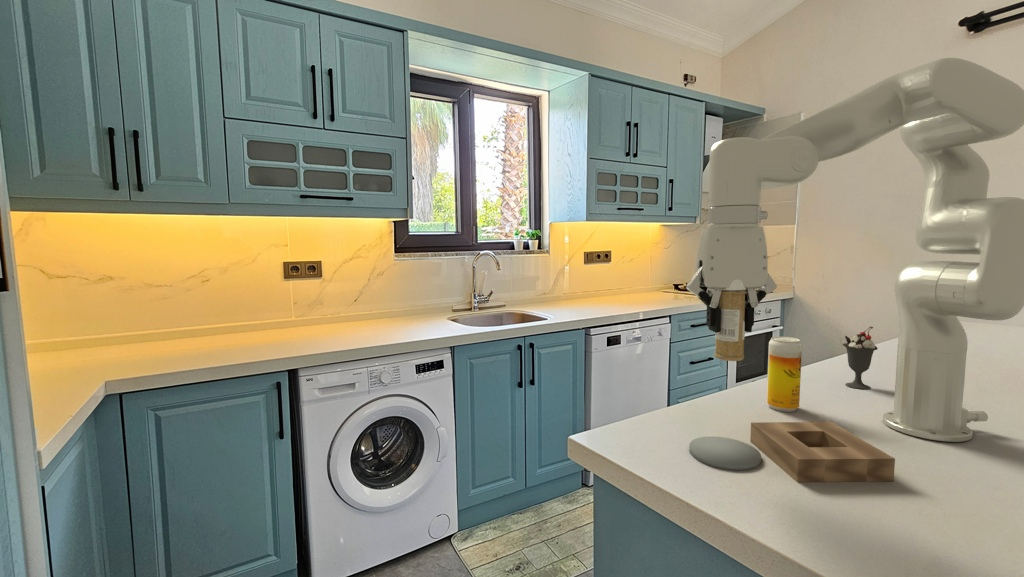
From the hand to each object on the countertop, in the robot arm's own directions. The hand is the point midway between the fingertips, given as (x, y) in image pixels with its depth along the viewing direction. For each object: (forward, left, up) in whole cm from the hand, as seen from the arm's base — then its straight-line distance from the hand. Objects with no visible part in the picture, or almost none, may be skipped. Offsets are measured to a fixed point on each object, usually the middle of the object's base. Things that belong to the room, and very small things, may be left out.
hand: (729, 329), depth 77 cm
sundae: (-48, -36, -22) cm, 64 cm away
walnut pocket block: (-14, +2, -21) cm, 26 cm away
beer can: (-22, -22, -22) cm, 38 cm away
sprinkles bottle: (0, 0, -5) cm, 5 cm away
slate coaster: (0, 0, -21) cm, 21 cm away
